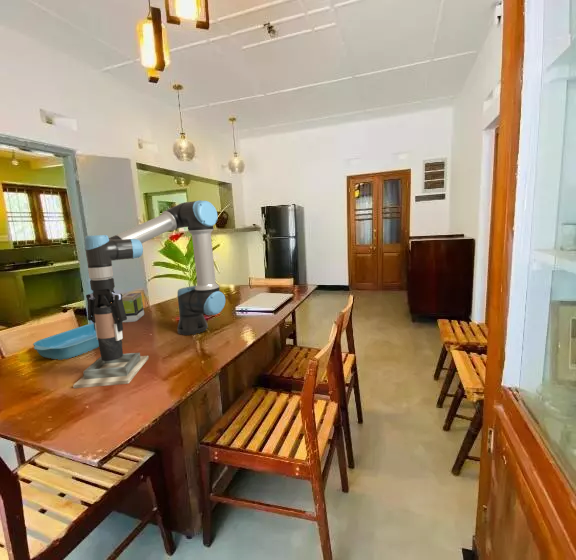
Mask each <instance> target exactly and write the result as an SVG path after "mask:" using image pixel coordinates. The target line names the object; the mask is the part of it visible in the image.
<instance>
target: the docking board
mask: <svg viewBox="0 0 576 560" xmlns="http://www.w3.org/2000/svg"><path fill="white" fill-rule="evenodd" d="M148 360H149V355H141V352H131V353H129V352H128V353H123V356H122V357H121V358H119V359H116V360H112V361H103V360H102V359H101V356H100V357H99V358H97V359H96V360H95V361H94V362H93V363H91V364H90V365H89V366H88V367H87V368H85V370H83V371H82V372H83V373H82V374H83V376H81V378H80V379H78V381H76V382H75V383H74V384H73V389H79V388H80V389H81V388H83V389H85V388H93V387H105V386H116V385H117V386H118V385H127V384H130V382H132V380H133V379H134V378H135V376H136V375H137V373H138V372H139V371H140V370H141V369H142V367H143V366H144V365H145V364H146V362H147V361H148Z"/></svg>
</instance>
